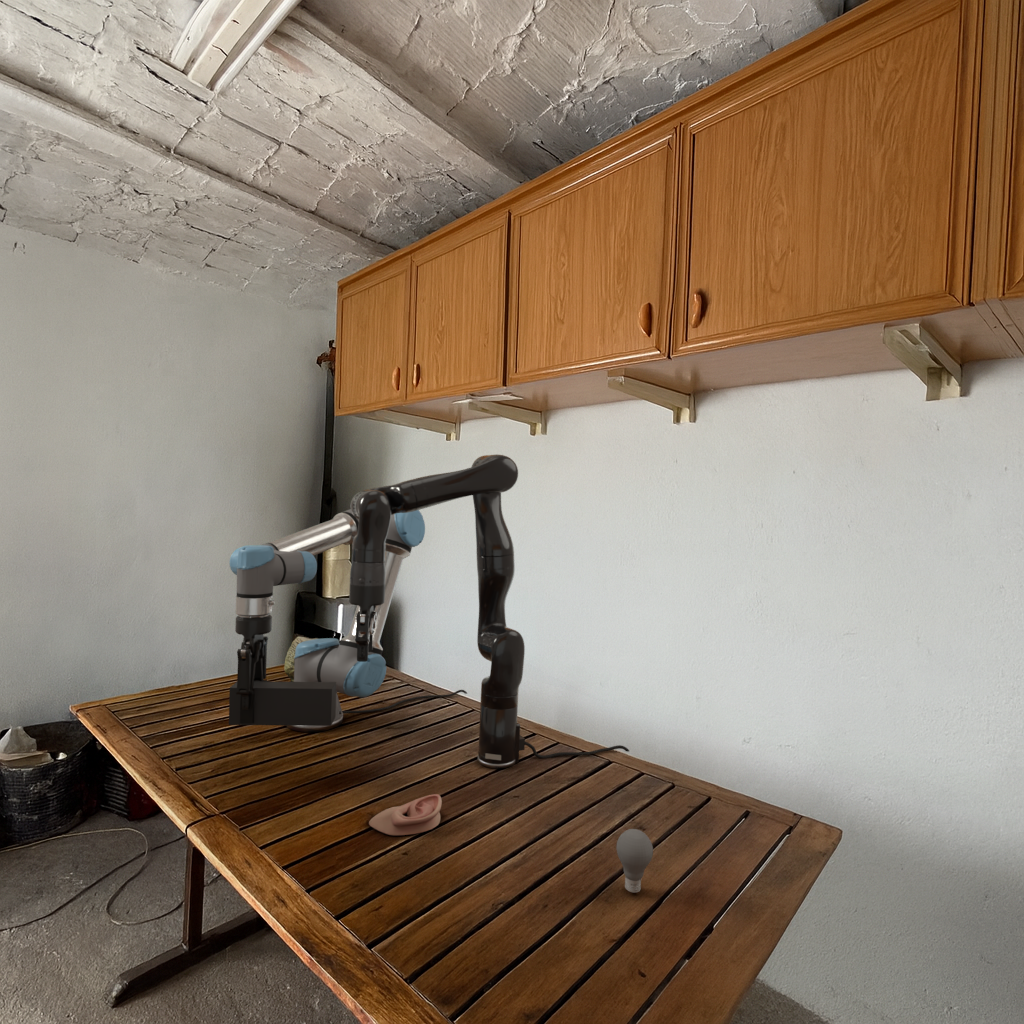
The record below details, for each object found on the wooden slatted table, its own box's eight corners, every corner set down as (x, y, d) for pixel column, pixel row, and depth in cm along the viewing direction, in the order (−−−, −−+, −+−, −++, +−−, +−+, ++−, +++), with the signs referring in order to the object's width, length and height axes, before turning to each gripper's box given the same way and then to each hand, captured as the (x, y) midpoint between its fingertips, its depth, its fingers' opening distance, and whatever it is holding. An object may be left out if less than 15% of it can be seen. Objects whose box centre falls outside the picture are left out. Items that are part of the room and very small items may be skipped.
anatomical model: (362, 810, 120) (386, 784, 132) (361, 831, 121) (385, 803, 132) (429, 820, 118) (447, 793, 129) (428, 841, 118) (446, 812, 129)
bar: (228, 725, 139) (229, 687, 139) (236, 717, 144) (237, 680, 144) (330, 725, 141) (332, 688, 141) (335, 717, 146) (336, 682, 146)
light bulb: (610, 879, 108) (613, 822, 108) (644, 879, 109) (647, 822, 109) (619, 902, 102) (622, 840, 102) (655, 901, 103) (658, 840, 103)
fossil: (280, 681, 212) (281, 637, 212) (331, 673, 224) (333, 631, 224) (290, 688, 205) (292, 642, 205) (343, 679, 218) (345, 636, 217)
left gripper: (258, 623, 133) (255, 733, 133) (282, 608, 150) (279, 704, 151) (221, 622, 132) (218, 733, 133) (250, 607, 150) (247, 704, 151)
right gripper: (382, 587, 131) (379, 665, 131) (388, 578, 145) (385, 648, 145) (345, 586, 130) (341, 664, 130) (354, 577, 144) (351, 648, 144)
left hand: (251, 717), depth 142 cm, fingers closed on bar, 5 cm apart
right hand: (364, 656), depth 138 cm, fingers open, 8 cm apart
